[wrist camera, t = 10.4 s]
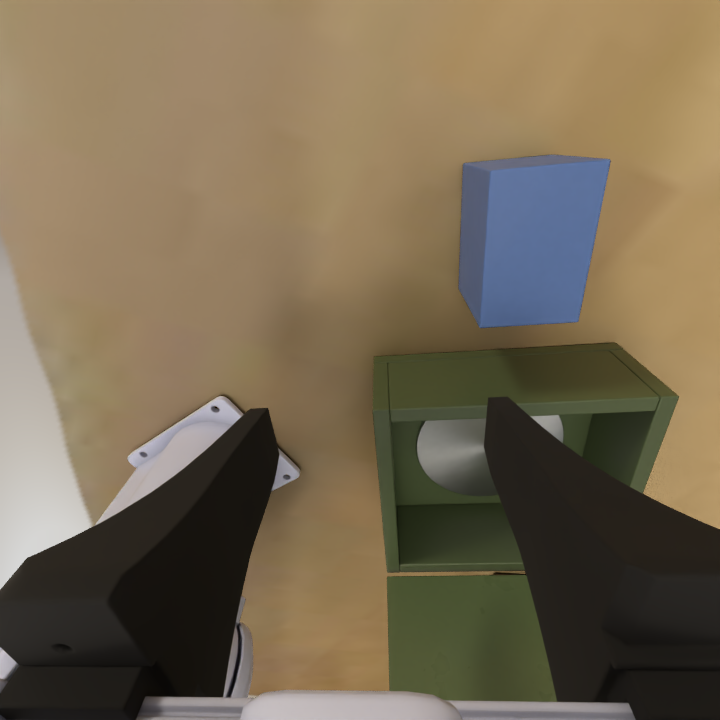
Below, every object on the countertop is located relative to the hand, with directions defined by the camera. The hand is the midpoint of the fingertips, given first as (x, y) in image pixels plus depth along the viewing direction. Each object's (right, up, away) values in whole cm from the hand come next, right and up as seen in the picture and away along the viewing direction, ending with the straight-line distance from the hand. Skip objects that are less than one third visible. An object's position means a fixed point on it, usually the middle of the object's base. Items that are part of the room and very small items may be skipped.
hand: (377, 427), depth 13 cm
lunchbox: (+8, -3, +13) cm, 15 cm away
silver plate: (+8, -3, +13) cm, 15 cm away
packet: (+6, +9, +6) cm, 12 cm away
